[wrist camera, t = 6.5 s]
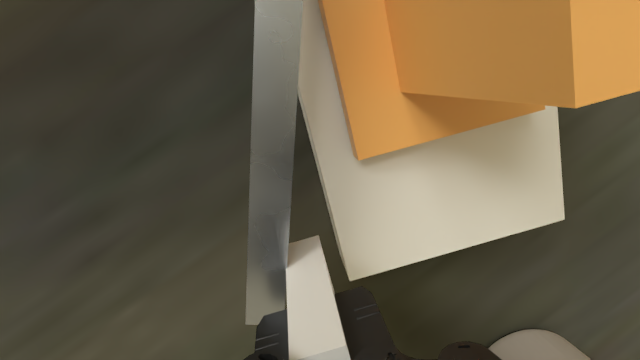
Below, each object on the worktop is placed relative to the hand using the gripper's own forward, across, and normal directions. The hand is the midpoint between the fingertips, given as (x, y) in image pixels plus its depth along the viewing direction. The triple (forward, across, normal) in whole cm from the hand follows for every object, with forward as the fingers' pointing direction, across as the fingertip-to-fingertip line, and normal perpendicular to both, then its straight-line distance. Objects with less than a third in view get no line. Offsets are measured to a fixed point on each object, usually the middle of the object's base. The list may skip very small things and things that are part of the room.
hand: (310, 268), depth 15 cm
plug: (+5, +7, +8) cm, 12 cm away
